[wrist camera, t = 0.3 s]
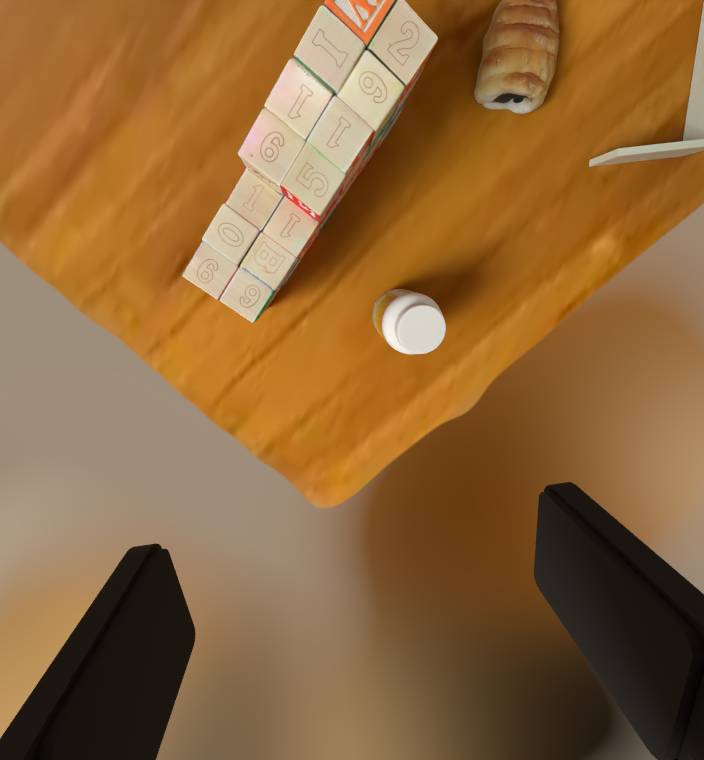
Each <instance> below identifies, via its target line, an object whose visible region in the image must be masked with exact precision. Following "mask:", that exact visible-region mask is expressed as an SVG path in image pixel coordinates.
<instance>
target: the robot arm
mask: <svg viewBox="0 0 704 760" xmlns="http://www.w3.org/2000/svg"><path fill="white" fill-rule="evenodd" d="M534 577H535V581H536V584H537V586H538V588H539V589H540V591H541V592H542V594H543V596H544V597H545V598H546V600H547V601H548V603H549V604H550V606H551V607H552V609H553V610H554V612H555V613H556V615H557V616H558V618H559V619H560V621H561V622H562V624H563V625H564V626H565V628H566V629H567V631H568V632H569V634H570V635H571V637H572V638H573V640H574V641H575V643H576V644H577V646H578V647H579V649H580V650H581V652H582V653H583V654H584V656H585V657H586V659H587V660H588V662H589V663H590V665H591V666H592V668H593V669H594V671H595V672H596V673H597V675H598V677H599V678H600V680H601V681H602V682H603V684H604V685H605V687H606V688H607V690H608V691H609V693H610V694H611V696H612V697H613V699H614V700H615V702H616V703H617V705H618V706H619V708H620V709H621V710H622V712H623V713H624V715H625V716H626V718H627V719H628V721H629V722H630V724H631V725H632V727H633V728H634V730H635V731H636V733H637V734H638V735H639V737H640V738H641V740H642V741H643V743H644V744H645V746H646V747H647V749H648V750H649V751H650V753H651V754H652V755H653V756H654V757H655V758H656V759H658V760H704V594H702V593H701V592H700V591H699V590H698V589H697V588H696V587H694V586H693V585H692V584H691V583H690V582H689V581H687V580H686V579H685V578H684V577H683V576H682V575H680V574H679V573H678V572H677V571H676V570H675V569H673V568H672V567H671V566H670V565H669V564H668V563H666V562H665V561H664V560H663V559H662V558H661V557H659V556H658V555H657V554H656V553H655V552H654V551H652V550H651V549H650V548H649V547H648V546H646V545H645V544H644V543H643V542H642V541H641V540H639V539H638V538H637V537H636V536H635V535H634V534H632V533H631V532H630V531H629V530H628V529H627V528H625V527H624V526H623V525H622V524H620V522H618V521H617V520H616V519H615V518H614V517H612V516H611V515H610V514H609V513H608V512H607V511H606V510H604V509H603V508H602V507H601V506H600V505H598V504H597V503H596V502H595V501H594V500H593V499H591V498H590V497H589V496H588V495H587V494H586V493H584V492H583V491H582V490H581V489H580V488H579V487H577V486H576V485H575V484H573V483H571V482H566V483H559V484H553V485H548V486H546V487H545V490H544V492H541V493H540V495H539V505H538V520H537V535H536V550H535V565H534ZM194 642H195V628H194V624H193V621H192V618H191V615H190V613H189V610H188V607H187V604H186V601H185V598H184V595H183V592H182V589H181V586H180V584H179V580H178V577H177V574H176V571H175V569H174V566H173V563H172V560H171V557H170V554H169V552H168V550H167V549H162V548H161V546H160V545H159V544H151V545H144V546H137V547H132V548H131V549H129V550H128V551H127V553H126V554H125V556H124V557H123V558H122V560H121V561H120V563H119V564H118V566H117V567H116V569H115V571H114V572H113V573H112V575H111V576H110V578H109V579H108V581H107V582H106V584H105V585H104V587H103V588H102V590H101V591H100V592H99V594H98V595H97V597H96V598H95V600H94V601H93V603H92V604H91V606H90V607H89V609H88V610H87V612H86V613H85V615H84V616H83V618H82V619H81V621H80V622H79V623H78V625H77V626H76V628H75V629H74V631H73V632H72V634H71V635H70V637H69V638H68V640H67V641H66V643H65V644H64V646H63V647H62V649H61V650H60V651H59V653H58V654H57V656H56V657H55V659H54V661H53V662H52V663H51V665H50V666H49V668H48V669H47V671H46V672H45V674H44V675H43V677H42V678H41V679H40V681H39V682H38V684H37V685H36V687H35V688H34V690H33V691H32V693H31V694H30V696H29V697H28V699H27V700H26V702H25V703H24V705H23V706H22V708H21V709H20V711H19V712H18V714H17V715H16V716H15V718H14V719H13V721H12V722H11V724H10V726H9V727H8V728H7V730H6V731H5V733H4V734H3V736H2V737H1V739H0V760H156V757H157V754H158V751H159V748H160V745H161V742H162V739H163V736H164V733H165V730H166V727H167V724H168V721H169V718H170V715H171V712H172V709H173V706H174V703H175V700H176V697H177V694H178V691H179V688H180V685H181V682H182V679H183V676H184V673H185V670H186V667H187V664H188V661H189V658H190V655H191V652H192V649H193V646H194Z"/></svg>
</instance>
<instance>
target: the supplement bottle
mask: <svg viewBox="0 0 704 760" xmlns="http://www.w3.org/2000/svg"><path fill="white" fill-rule="evenodd" d="M373 323H374V326H375V328H376V330H377V331H378V333H379V334H380V335H381V336H382V337H383V338H384V339H385V340H386V341H387V342H388V343H389V345H390V346H391V347H393V348H394V349H395V350H397V351H399V352H401V353H405V354H424V353H428V352H430V351H432V350H434V349H435V348H437V347H438V346H439V344H440V343H441V342H442V340H443V338H444V336H445V332H446V323H445V320H444V317H443V316H442V312H441V310H440V308H439V306H438V305H437V304H436V302H435V301H434V300H432V299H431V298H430V297H428V296H426V295H423V294H421V293H416V292H413V291H409V290H405V289H394V290H390V291H388V292H386V293H384V294H383V295H382V296H381V297H380V298H379V299H378V300H377V302H376V304H375V306H374V309H373Z"/></svg>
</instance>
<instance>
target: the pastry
mask: <svg viewBox="0 0 704 760" xmlns="http://www.w3.org/2000/svg"><path fill="white" fill-rule="evenodd" d="M557 13H558V8H557V0H501V1H500V3H499V5H498V7H497V8H496V10H495V12H494V15H493V18H492V21H491V24H490V27H489V29H488V32H487V33H486V35H485V36H484V39H483V45H482V48H483V54H482V59H481V63H480V65H479V69H478V73H477V82H476V87H475V90H474V98H475V100H476V101H477V102H478V103H479V104H482V105H483V106H484V107H485V108H489V109H493V110H494V109H500V110H501V109H509V110H511V111H512V112H515V113H521V114H525V113H529V112H531V111H533V110H535V109H537V108H538V107H539V106H540V105H541V104H542V103H543V102H544V98H545V96H546V94H547V90H548V89H549V85H550V83H551V80H552V78H553V76H554V74H555V71H556V58H557V54H558V49H559V35H560V31H559V28H558V26H559V17H558V14H557Z"/></svg>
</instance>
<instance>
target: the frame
mask: <svg viewBox="0 0 704 760" xmlns="http://www.w3.org/2000/svg"><path fill="white" fill-rule="evenodd" d="M700 151H704V4H703V11H702V17H701V24H700V30H699V37H698V43H697V50H696V56H695V63H694V70H693V76H692V83H691V89H690V96H689V102H688V109H687V115H686V122H685V129H684V135H683V141H681V142H672V143H663V144H654V145H645V146H636V147H627V148H618V149H616V150H613V151H611V152H608V153H606V154H603V155H601V156H598V157H596V158H593V159H591V160H590V162H589V167H592V166H601V165H610V164H619V163H627V162H636V161H645V160H654V159H663V158H671V157H680V156H687V155H690V154H694V153H697V152H700Z"/></svg>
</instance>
